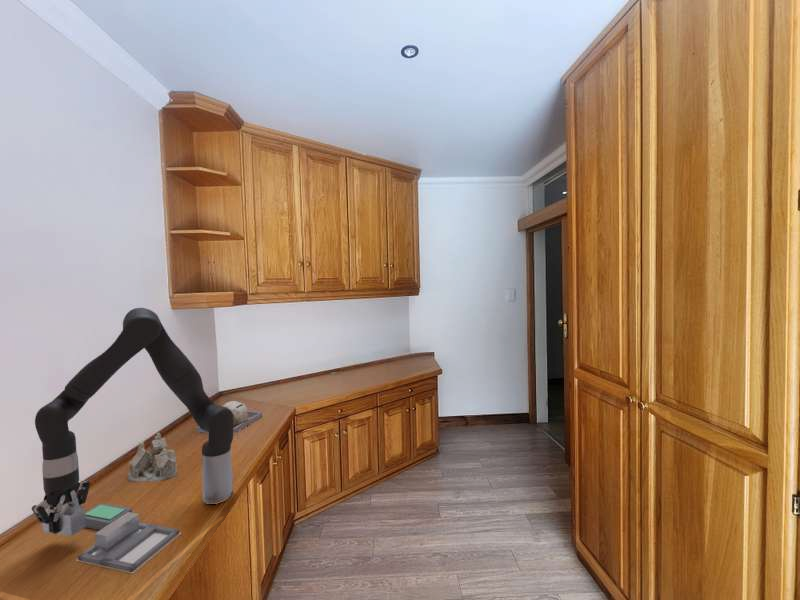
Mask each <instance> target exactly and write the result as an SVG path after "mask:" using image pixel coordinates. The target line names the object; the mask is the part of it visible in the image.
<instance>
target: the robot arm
mask: <svg viewBox="0 0 800 600" xmlns="http://www.w3.org/2000/svg"><path fill="white" fill-rule="evenodd" d="M143 350H145V351H146V352H147V354H148V355H149V357H150V359H151V361H152V362H153V364H154V367H155V369H156V371H157V373H158V375H159V376H160V377H161V379H162V381H163V382H164V383H165V385H166V386H168V388H169V390H170V391H172V392H173V394H174V395H175V396H176V397H177V399H178V400H180V402H181V403H183V405H184V406H185V407H186V408H187V410H188V411H189V413H190V415H191V416H192V418H193V420H194V422H195V423H196V424H197V426H199V427H200V428H201V429H202V430H204V431H207V432H209V433H208V440H207V441H206V442H204V443H203V444H202V446H201V463H202V464H201V466H202V467H201V470H202V471H201V475H202V476H201V477H202V479H201V481H202V503H203V502H205V503H209V504H211V503H217V502H220V501H223V500H225V499H227V498H229V497H230V496H231V497H232V493H231V491H232V490H233V491H234V482H233V481H234V476H233V474H234V472H233V470H234V469H233V468H234V467H233V466H232V444H233V440H234V434H233V429H234V428H235V427H234V417H233V413H232V411H231V410H230V409H228V408H225V407H222V406H223V405H222V406H221V405H218V404H216V403H215V402H214V401H213V400H212V399H211V398H210V397H209V396H208V394H207V393H206V391H205V389H204V385H203V380H202V376H201V375H200V373H199V371H198V370H197V369H196V367H195V366H194V364H193V363H192V362H191V360H190V359H189V358H188V356H186V355H185V353H184V352H183V350H181V349H180V348H179V347H178V346H177V345H176V343H175V342H174V341H173V340H172V339H171V336H169V334H168V332H167V331H166V329H165V327H164V325H163V324H162V322H161V319H160V318H159V315H158V314H157V313H156V312H154V311H153V310H151V309H149V308H146V307H135V308H133V309H130V310H129V311H128V312H127V313H126V314H125V316H124V318H123V320H122V331H121V332H120V334H119V335H118V337H117V338H116V339H115V341H114V342H113V343H112V344H111V345H110V346H109V347H108V348H107V349H106V350H105V351H103V352H102V353H101V354H99V355H98V356H97V357H95V358H94V359H92V360H91V361H89V362H88V363H87V364H86V365H84V366H83V367H82V368H81V369H80V370H79V371H78V372H77V373H76V374H75V375H74V376H73V377H72V378H71V379H70V380H69V381H68V382H67V384H66V385H65V386H64V389H63V391H61V392H60V393H59V394H58V395H57V396H56V397H55V398H54V399H53V400H52V401H50V402H48V403H47V404H45V405H43V406H42V407H40V408H39V409H38V411H37V413H36V414H35V418H34V426H35V430H36V433H37V435H38V438H39V440H40V442H41V446H42V447H41V449H42V450H41V451H42V463H41V464H42V465H41V466H42V467H41V469H42V481H43V484H42V485H43V491H44V497H43V500H42V501H41V502H40V503H39V504H37V505H36V504H34V505H33V506H32V507H31V511H32V512H33V514H34V515H35V517H36V519H37V521H38V522H39V523H41V524H42V523H45V524H48V523H49V532H48V533H50V532H51V534H54V535H58V534H57V533H59V532H60V529H59V520H58V518H59V513H60V512H61V510H62V506H63V505H65V504H68V505H73V506H74V505H76V506H81V505H84V504H85V503H86V501H87V498H88V494H89V490H90V486H91V482H90V481H86V480H82V481H80V470H79V469H80V468H79V466H80V465H79V456H78V451H77V441H76V439H77V438H76V435H75V432H73V431H72V430H70V429H69V421H70V420H71V419H73V418H74V417H75V416H76V415H77V414H78V413H79V412H80V411H81V410H82V408H84V406H85V404H86V403H87V402H88V401H89V400H90V399H91V398H92V397H93V396H94V395H95V394H96V393H97V392H98V391H100V389H101V388H102V387H103V386H104V385H105V384H106V383H107V382H108V381H109V380H110V379H111V378H112V377H113V375H115V373H117V372H118V371H119V370H120V369H121V368H122V367H123V366H124V365H126V364H127V362H129V361H130V360H131V359H132V358H134V357H135V356H136V355H137V354H138V353H140V352H141V351H143ZM79 481H80V482H79ZM231 497H230V498H231ZM230 498H229V499H230ZM47 505H48V507H47ZM55 507H56V508H55ZM47 508H48V514H47V512H46V511H45V510H46V509H47ZM53 513H54V515H53Z"/></svg>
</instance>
